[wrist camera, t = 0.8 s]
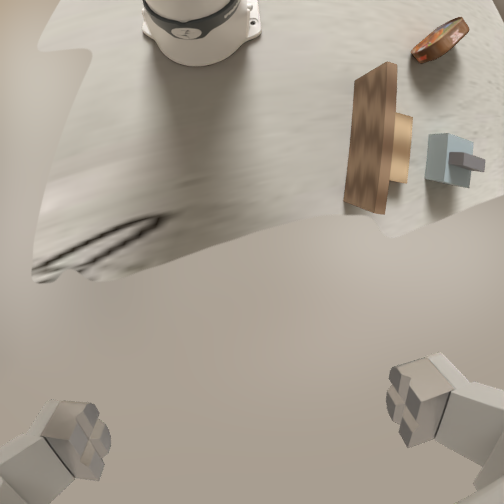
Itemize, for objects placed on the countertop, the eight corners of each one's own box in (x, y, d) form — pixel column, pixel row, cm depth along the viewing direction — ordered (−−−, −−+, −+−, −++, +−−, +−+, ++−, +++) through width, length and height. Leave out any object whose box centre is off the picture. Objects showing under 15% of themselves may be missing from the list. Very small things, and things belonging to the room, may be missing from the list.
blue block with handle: (428, 134, 47) (463, 132, 37) (453, 142, 47) (488, 142, 38) (424, 178, 49) (458, 184, 39) (449, 184, 50) (484, 191, 40)
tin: (442, 23, 41) (466, 10, 33) (452, 35, 41) (477, 24, 33) (402, 56, 43) (427, 44, 35) (414, 70, 44) (440, 60, 36)
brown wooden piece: (354, 80, 44) (387, 61, 32) (405, 94, 45) (445, 82, 33) (343, 201, 49) (374, 213, 38) (394, 208, 50) (433, 221, 39)
